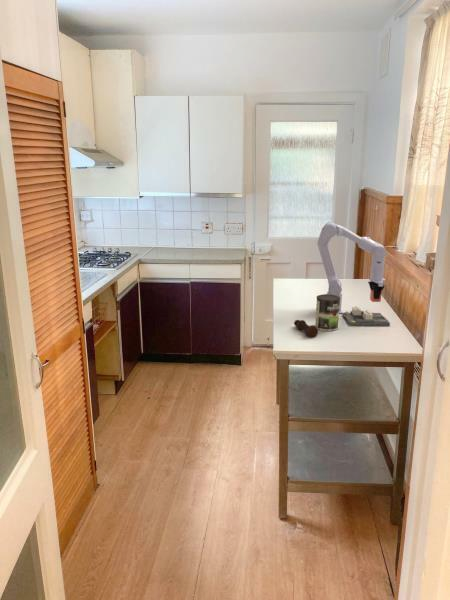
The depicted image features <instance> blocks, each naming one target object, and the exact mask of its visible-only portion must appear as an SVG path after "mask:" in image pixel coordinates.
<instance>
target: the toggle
mask: <svg viewBox="0 0 450 600" xmlns="http://www.w3.org/2000/svg"><path fill="white" fill-rule="evenodd" d="M351 311H352V314H353V315H361V311H362V310H361V308H360V307H359V306H357V305H356V306H353V307H352V308H351Z"/></svg>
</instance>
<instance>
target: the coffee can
mask: <svg viewBox="0 0 450 600" xmlns="http://www.w3.org/2000/svg"><path fill="white" fill-rule="evenodd" d="M324 294H325V295H323V294H319V295H317V296H316V304H315V305H316V308H315V309H316V310H315V322H314V323H315V324H314V326H316V328H317V329H318V331H319V330H320V331H324V332H332V331H333V332H334V331H336V330H338V329H339V317H340V314H339V304H340V297H338V296H335V295H326V294H327V293H324Z"/></svg>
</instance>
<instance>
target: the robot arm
mask: <svg viewBox="0 0 450 600" xmlns="http://www.w3.org/2000/svg"><path fill="white" fill-rule="evenodd" d="M335 236H337V237H345V238H346V239H348V240H351V241H352V242H354V243H357V247H358V248H359V249H362V250H363V251H365V252H367V253H369V254H372V259H371V260H372V261H371V268H370V269H371V270H370V277H369V281H368V285H369V289H370V291H371V290H373V291H374V299H379V297H380V294H381V295H382V292H383V290H384V288H385V285H384V282H386V279H385V278H384V271H385V257H386V255H387V250H386V247H384V245H383V244H382V243H381V244H380V242H378V241H377V242H376V241H374V240H372V239H371V237H369V236H359V235H357V233H354V232H353V231H351V230H350V229H348V228H346V227H344V226H342V225H340V224H336V223H335V222H332V221H328V222H326V223H325V224H324V226H323V227H322V228H321V231H320V233H319V236H318V239H317V247H318V251H319V254H320V258H321V260H322V264H323V267H324V272H325V274H326V277H327V282H328V291H327V292H326V293H324V294H322V295H325V294H326V295H335V296H338V297H340V304H339V315H340V314H342V315H343V313H344V311H343V310H342V301H343V300H342V299H343V293H342V290H343V288H342V285H343V284H342V282H341V280H339V278H338V275H337V272H336V269H335V265H334V262H333V258H332V254H331V252H330V248H329V242H330V241H331V240H332V238H334V237H335Z"/></svg>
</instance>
